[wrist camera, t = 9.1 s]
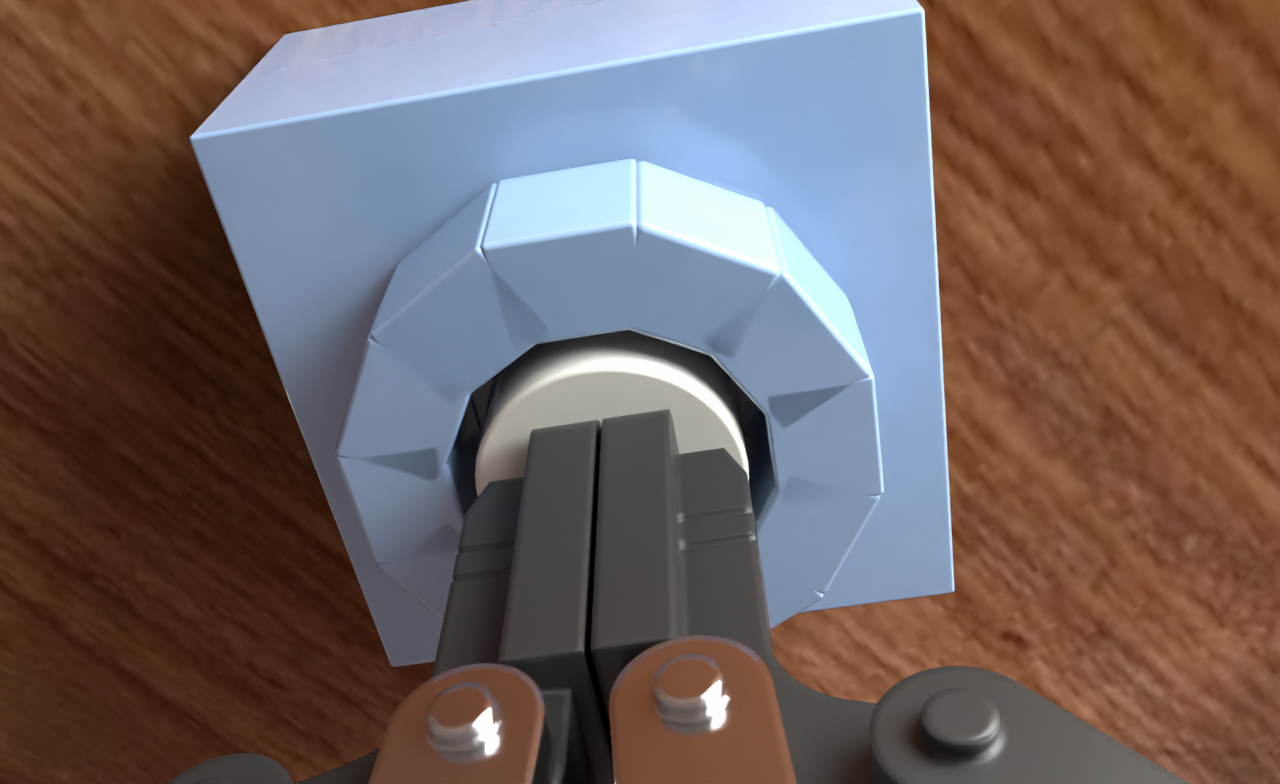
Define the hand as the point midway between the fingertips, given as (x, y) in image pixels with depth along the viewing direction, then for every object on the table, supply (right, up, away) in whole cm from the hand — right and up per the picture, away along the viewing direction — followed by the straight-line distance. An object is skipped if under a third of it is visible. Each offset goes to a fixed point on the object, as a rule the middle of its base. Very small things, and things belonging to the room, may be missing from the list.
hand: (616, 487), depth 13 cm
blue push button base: (0, +3, +5) cm, 6 cm away
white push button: (0, +1, +2) cm, 2 cm away
